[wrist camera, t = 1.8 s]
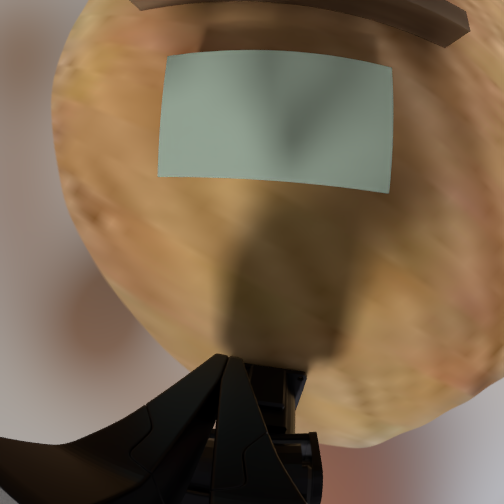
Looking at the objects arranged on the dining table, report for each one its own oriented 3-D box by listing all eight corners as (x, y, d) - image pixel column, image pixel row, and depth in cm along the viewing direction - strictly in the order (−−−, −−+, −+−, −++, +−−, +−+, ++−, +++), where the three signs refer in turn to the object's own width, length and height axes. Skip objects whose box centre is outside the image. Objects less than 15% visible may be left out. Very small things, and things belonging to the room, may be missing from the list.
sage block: (365, 187, 17) (388, 193, 13) (186, 174, 18) (157, 177, 14) (369, 88, 15) (391, 67, 11) (192, 78, 16) (167, 56, 12)
